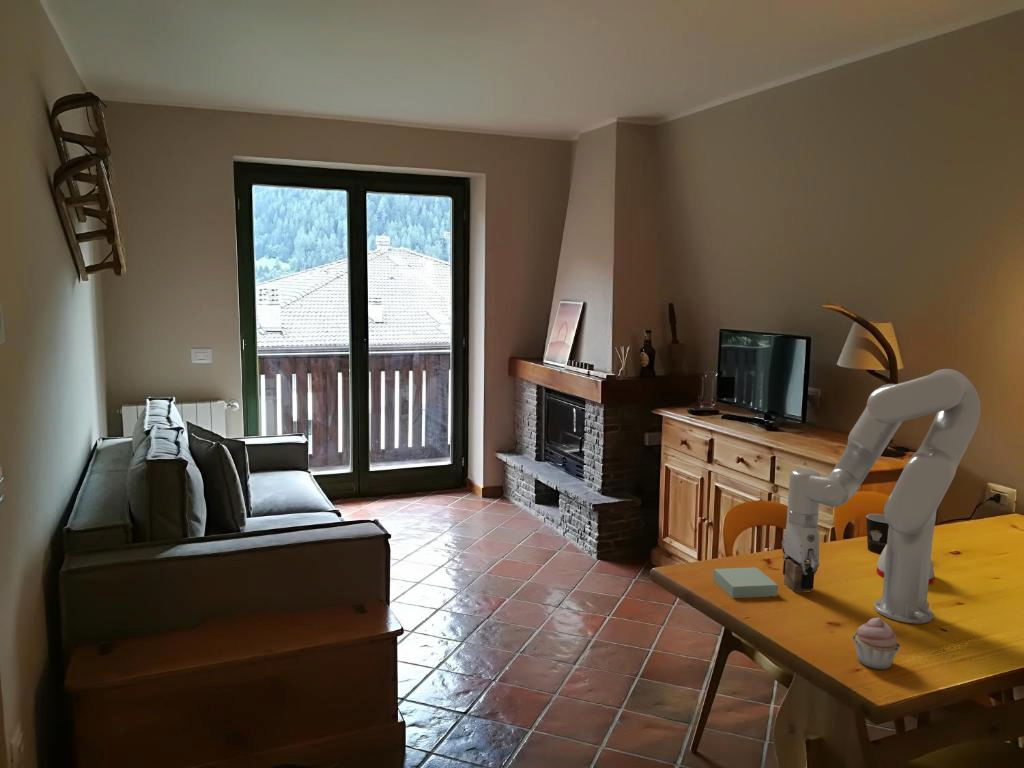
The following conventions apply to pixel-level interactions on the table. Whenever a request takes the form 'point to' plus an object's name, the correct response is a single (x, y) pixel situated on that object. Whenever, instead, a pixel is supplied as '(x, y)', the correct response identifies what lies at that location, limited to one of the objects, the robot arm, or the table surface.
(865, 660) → the cupcake
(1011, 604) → the table surface
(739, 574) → the plate
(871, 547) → the coffee mug
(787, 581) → the walnut block
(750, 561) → the table surface
